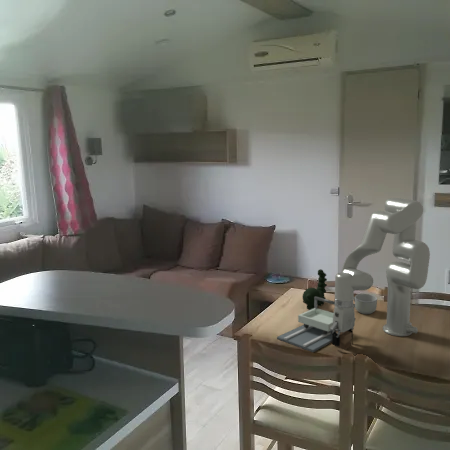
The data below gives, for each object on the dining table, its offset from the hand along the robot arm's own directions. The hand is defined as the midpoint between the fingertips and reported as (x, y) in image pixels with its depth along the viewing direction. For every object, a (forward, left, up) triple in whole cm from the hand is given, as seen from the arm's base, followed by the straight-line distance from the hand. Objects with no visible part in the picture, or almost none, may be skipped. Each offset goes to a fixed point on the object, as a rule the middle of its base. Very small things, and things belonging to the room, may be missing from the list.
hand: (342, 341), depth 199 cm
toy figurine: (+37, -32, -2) cm, 49 cm away
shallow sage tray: (+15, -6, 0) cm, 16 cm away
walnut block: (0, 0, -2) cm, 2 cm away
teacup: (+15, -41, -2) cm, 44 cm away
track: (+15, 0, -2) cm, 15 cm away
